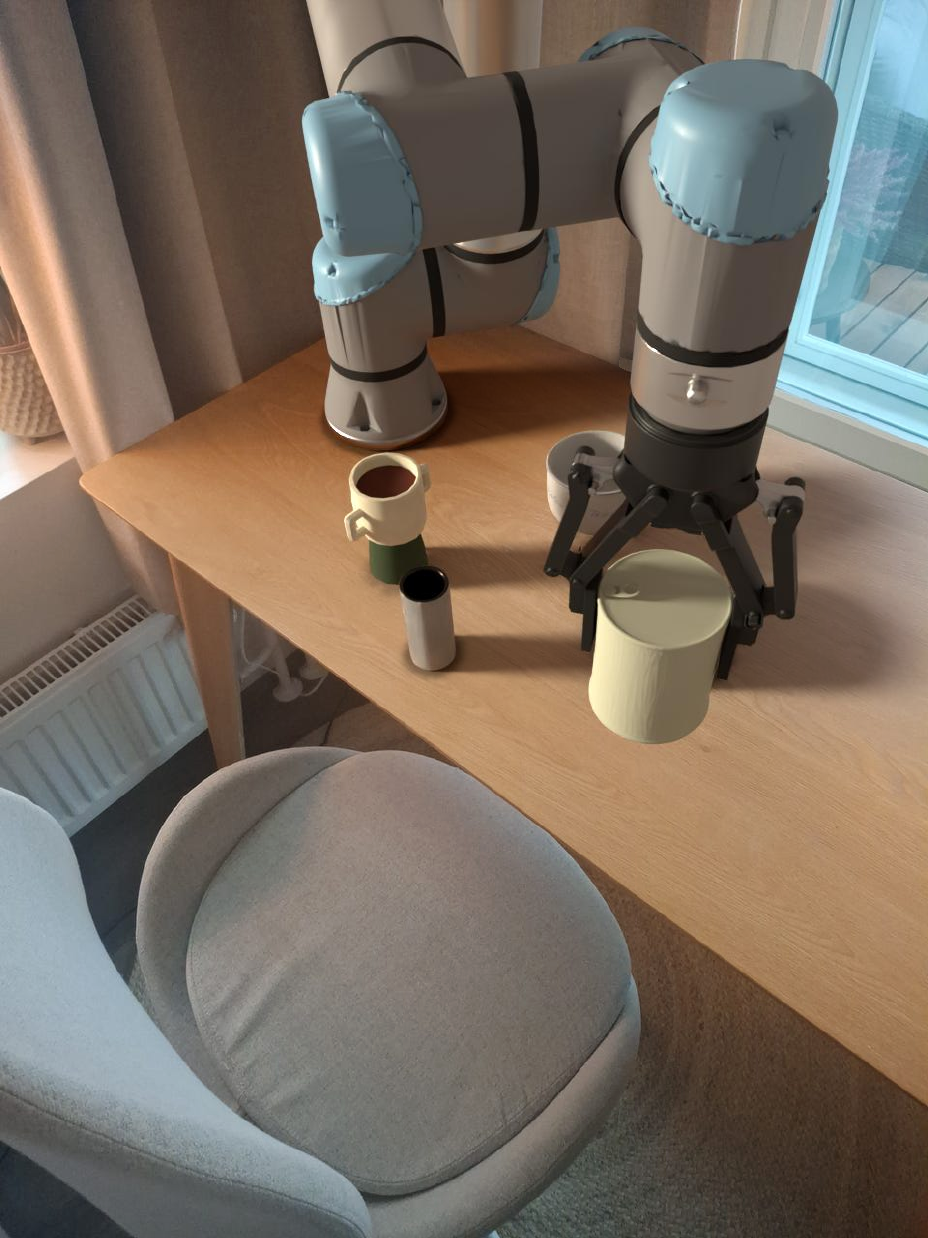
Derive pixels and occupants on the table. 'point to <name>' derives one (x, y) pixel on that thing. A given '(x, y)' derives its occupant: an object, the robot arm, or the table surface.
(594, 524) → the teacup
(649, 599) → the can
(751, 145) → the robot arm
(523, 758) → the table surface
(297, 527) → the table surface
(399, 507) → the character mug
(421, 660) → the planter
